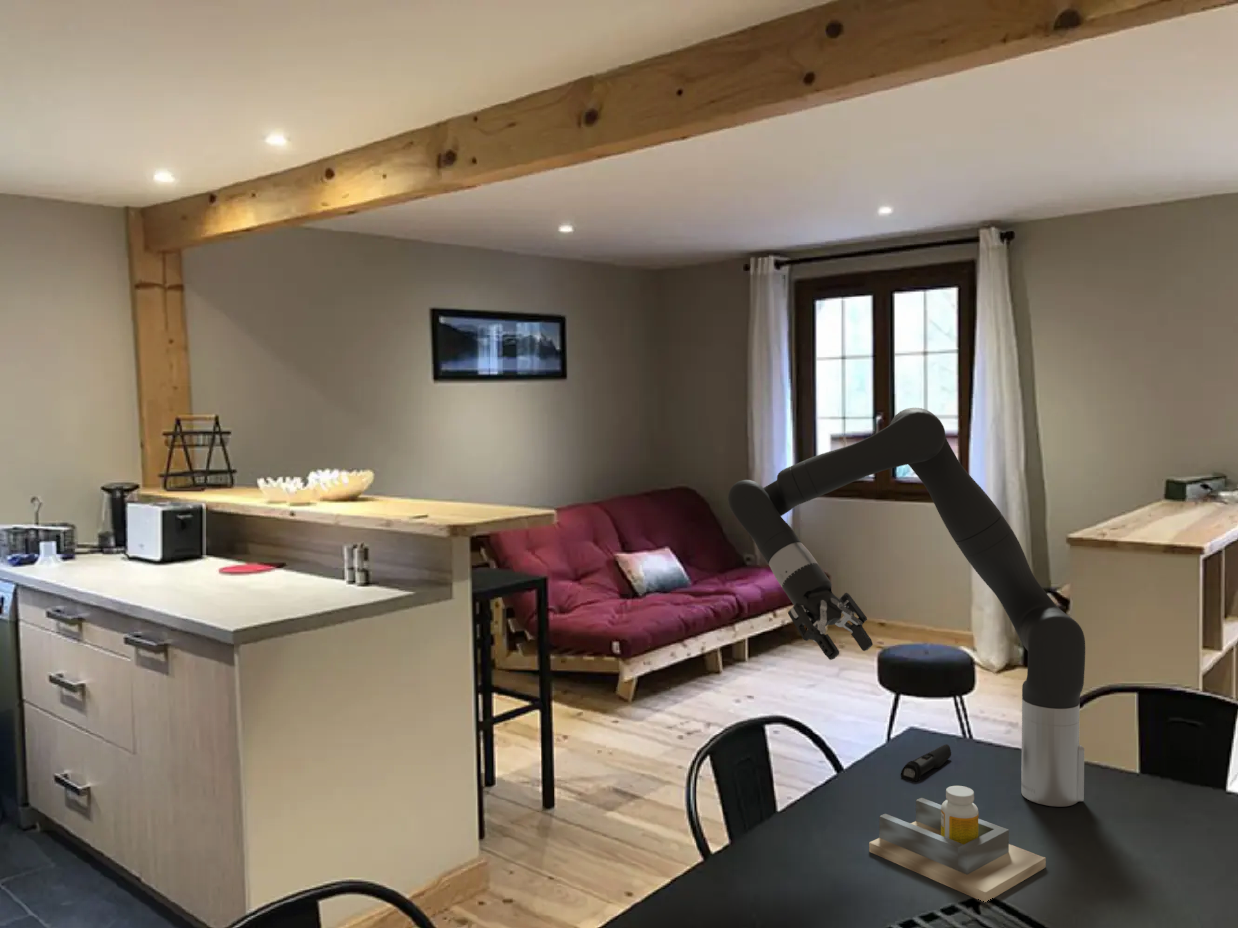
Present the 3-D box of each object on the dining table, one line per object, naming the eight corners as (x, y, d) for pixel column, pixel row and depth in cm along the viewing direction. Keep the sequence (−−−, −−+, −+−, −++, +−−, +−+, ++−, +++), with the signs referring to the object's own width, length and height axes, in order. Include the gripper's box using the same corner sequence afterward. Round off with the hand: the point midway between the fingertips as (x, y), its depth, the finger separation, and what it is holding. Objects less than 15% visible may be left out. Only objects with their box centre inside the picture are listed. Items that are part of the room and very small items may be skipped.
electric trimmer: (956, 761, 190) (956, 745, 190) (917, 783, 179) (917, 766, 179) (938, 757, 193) (938, 741, 192) (898, 778, 182) (898, 761, 182)
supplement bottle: (933, 848, 150) (933, 788, 149) (959, 840, 152) (958, 780, 151) (960, 863, 145) (960, 800, 144) (986, 854, 147) (986, 793, 147)
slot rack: (869, 851, 152) (869, 820, 152) (930, 823, 162) (930, 793, 162) (985, 902, 137) (985, 868, 136) (1045, 867, 146) (1045, 835, 146)
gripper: (782, 566, 163) (836, 647, 155) (838, 556, 172) (892, 632, 164) (759, 593, 168) (811, 672, 160) (815, 582, 177) (866, 657, 168)
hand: (852, 652), depth 162 cm, fingers open, 8 cm apart
